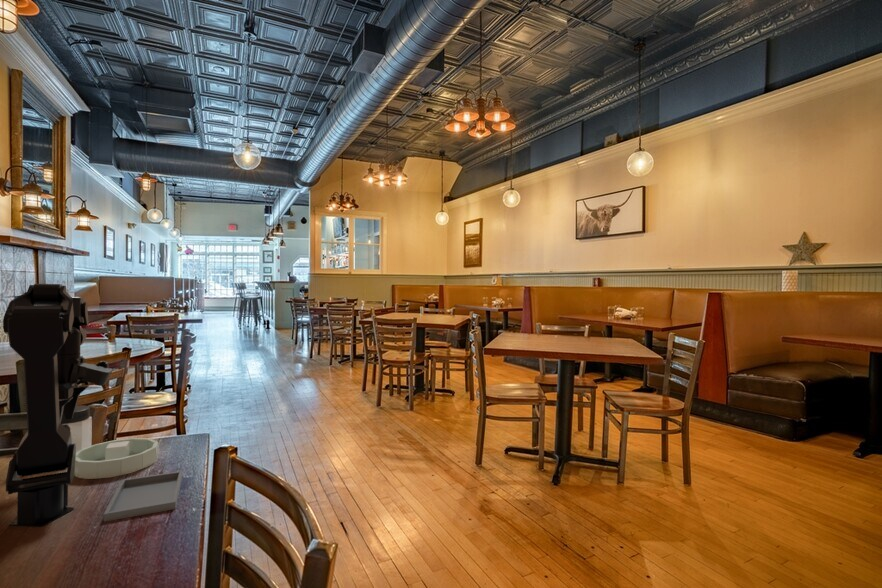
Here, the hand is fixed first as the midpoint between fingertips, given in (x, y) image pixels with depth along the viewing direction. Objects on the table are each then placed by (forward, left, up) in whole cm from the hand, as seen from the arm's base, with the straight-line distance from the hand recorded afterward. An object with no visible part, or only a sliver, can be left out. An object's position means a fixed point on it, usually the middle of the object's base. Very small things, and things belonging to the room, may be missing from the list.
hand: (62, 424), depth 96 cm
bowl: (+8, -6, -12) cm, 16 cm away
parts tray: (-7, -25, -12) cm, 29 cm away
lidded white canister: (+12, +10, -12) cm, 20 cm away
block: (+8, -6, -12) cm, 15 cm away
